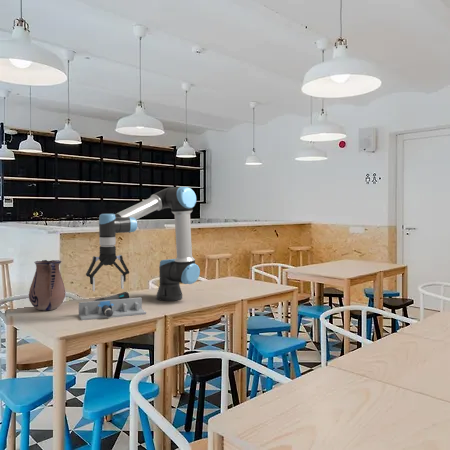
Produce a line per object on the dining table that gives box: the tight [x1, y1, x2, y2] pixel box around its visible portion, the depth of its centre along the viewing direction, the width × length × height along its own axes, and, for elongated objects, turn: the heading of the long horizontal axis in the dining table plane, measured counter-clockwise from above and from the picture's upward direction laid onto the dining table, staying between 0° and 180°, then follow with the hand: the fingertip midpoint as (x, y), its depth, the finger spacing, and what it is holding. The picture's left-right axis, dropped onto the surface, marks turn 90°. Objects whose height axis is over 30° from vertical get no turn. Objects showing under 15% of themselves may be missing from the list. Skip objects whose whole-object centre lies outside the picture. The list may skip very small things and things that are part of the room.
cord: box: [102, 305, 113, 318], centre depth 217 cm, size 10×4×4 cm, turn 25°
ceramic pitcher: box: [28, 259, 66, 312], centre depth 230 cm, size 18×21×25 cm
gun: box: [93, 291, 130, 301], centre depth 239 cm, size 4×20×10 cm, turn 115°
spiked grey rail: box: [78, 297, 147, 321], centre depth 220 cm, size 31×10×6 cm, turn 115°
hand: (108, 289), depth 215 cm, fingers open, 13 cm apart
